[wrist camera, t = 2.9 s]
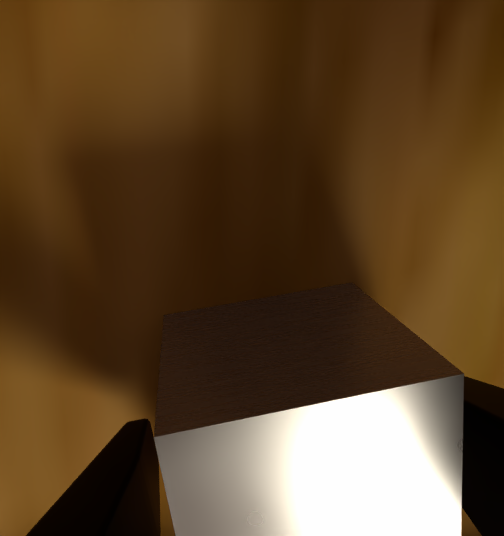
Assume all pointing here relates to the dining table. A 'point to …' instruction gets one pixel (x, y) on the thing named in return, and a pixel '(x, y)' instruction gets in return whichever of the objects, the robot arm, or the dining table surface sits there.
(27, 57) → the dining table surface
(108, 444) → the robot arm
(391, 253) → the dining table surface
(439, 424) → the block
